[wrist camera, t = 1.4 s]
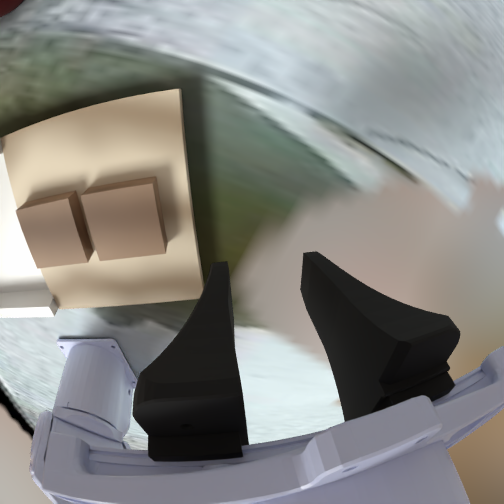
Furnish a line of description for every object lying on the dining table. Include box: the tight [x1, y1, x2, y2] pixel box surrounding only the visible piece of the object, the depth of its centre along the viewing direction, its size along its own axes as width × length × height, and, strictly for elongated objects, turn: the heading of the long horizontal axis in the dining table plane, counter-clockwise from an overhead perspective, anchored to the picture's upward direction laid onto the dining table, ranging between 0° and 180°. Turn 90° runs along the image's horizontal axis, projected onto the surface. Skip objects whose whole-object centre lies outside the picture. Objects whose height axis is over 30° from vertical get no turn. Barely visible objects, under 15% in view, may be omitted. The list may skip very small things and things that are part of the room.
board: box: [1, 89, 204, 309], centre depth 19 cm, size 16×14×2 cm
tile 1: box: [81, 176, 168, 261], centre depth 18 cm, size 5×5×2 cm
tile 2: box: [16, 190, 94, 269], centre depth 17 cm, size 5×5×2 cm
